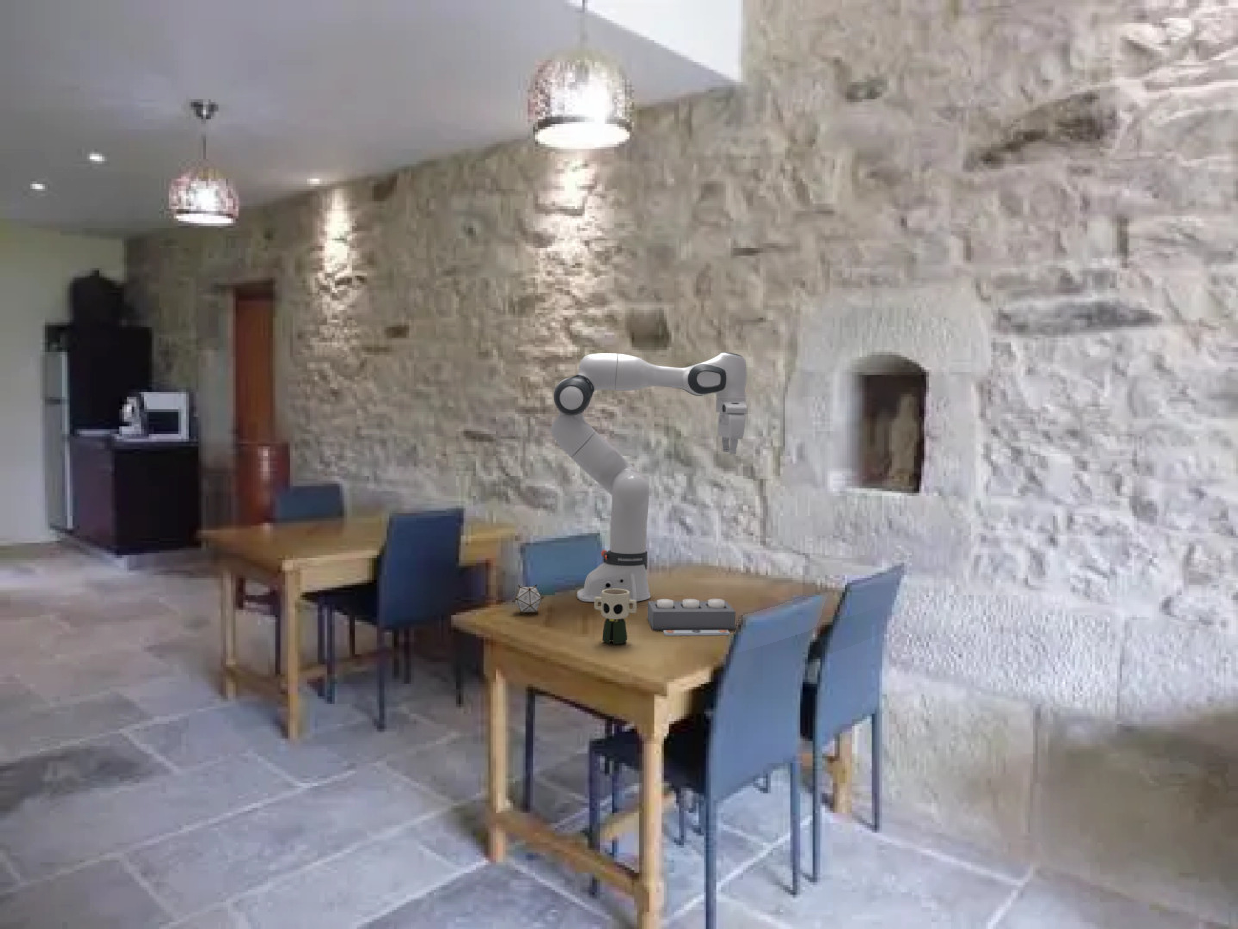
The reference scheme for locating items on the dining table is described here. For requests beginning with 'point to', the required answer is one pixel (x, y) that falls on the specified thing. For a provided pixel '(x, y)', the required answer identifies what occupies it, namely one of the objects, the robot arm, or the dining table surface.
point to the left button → (664, 604)
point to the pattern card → (695, 632)
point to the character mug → (615, 613)
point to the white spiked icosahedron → (528, 599)
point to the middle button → (690, 603)
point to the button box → (691, 617)
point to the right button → (716, 603)
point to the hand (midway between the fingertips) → (729, 452)
